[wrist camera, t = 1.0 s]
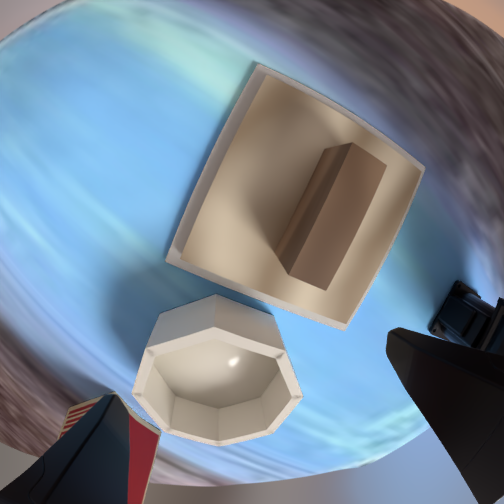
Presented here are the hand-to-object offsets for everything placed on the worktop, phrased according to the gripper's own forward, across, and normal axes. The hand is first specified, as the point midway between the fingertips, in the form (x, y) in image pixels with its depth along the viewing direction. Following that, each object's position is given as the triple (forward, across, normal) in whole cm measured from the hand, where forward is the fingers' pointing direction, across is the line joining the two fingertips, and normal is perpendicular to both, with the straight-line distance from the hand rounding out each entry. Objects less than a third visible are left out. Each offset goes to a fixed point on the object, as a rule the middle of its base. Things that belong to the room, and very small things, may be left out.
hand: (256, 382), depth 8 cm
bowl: (+13, +3, +9) cm, 17 cm away
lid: (+13, -7, -2) cm, 15 cm away
